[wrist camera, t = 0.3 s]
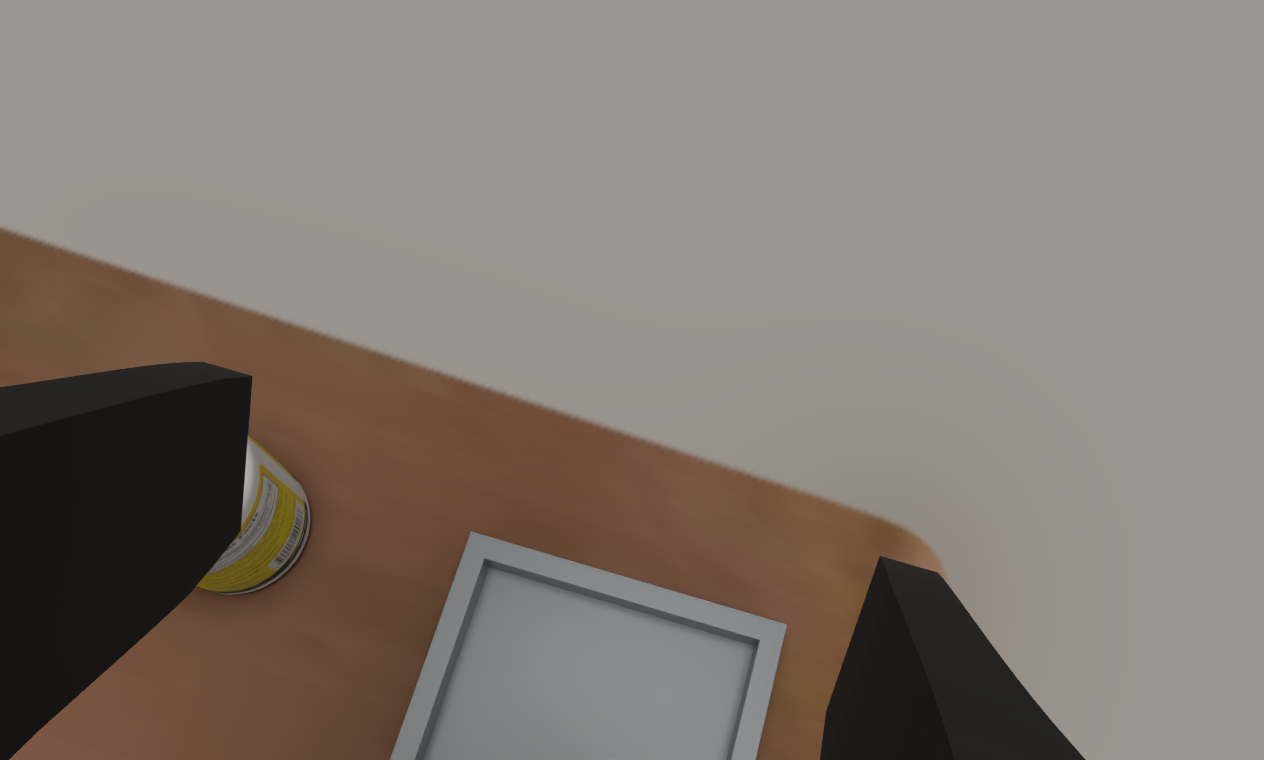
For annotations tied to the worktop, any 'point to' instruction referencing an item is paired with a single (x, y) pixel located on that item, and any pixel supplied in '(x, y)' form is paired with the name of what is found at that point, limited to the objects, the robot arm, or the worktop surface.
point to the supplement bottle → (263, 528)
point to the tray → (585, 667)
